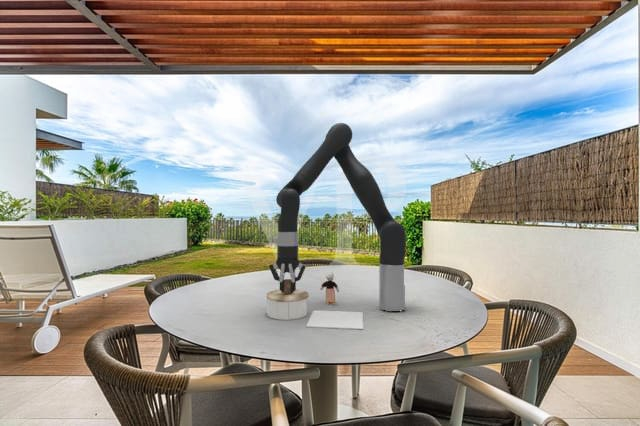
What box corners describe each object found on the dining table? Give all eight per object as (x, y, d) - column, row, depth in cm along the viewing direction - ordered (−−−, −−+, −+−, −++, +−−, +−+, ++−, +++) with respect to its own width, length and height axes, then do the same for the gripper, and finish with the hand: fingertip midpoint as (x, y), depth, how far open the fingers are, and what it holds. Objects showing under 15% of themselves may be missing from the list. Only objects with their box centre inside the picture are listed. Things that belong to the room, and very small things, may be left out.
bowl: (309, 309, 130) (309, 293, 130) (303, 320, 116) (303, 302, 116) (273, 307, 131) (273, 292, 131) (263, 318, 117) (263, 301, 117)
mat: (362, 313, 124) (362, 312, 124) (363, 329, 106) (363, 328, 106) (313, 311, 126) (313, 310, 126) (306, 327, 108) (306, 326, 108)
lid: (311, 292, 130) (311, 276, 130) (305, 302, 115) (305, 284, 115) (272, 291, 132) (272, 275, 132) (261, 301, 117) (261, 283, 117)
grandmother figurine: (339, 302, 139) (339, 271, 139) (339, 305, 135) (339, 273, 136) (320, 302, 140) (320, 271, 140) (319, 304, 136) (319, 272, 136)
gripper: (308, 243, 126) (308, 290, 126) (271, 243, 128) (271, 289, 128) (305, 245, 119) (305, 295, 119) (266, 245, 121) (265, 294, 120)
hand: (287, 291), depth 123 cm, fingers closed on lid, 3 cm apart
